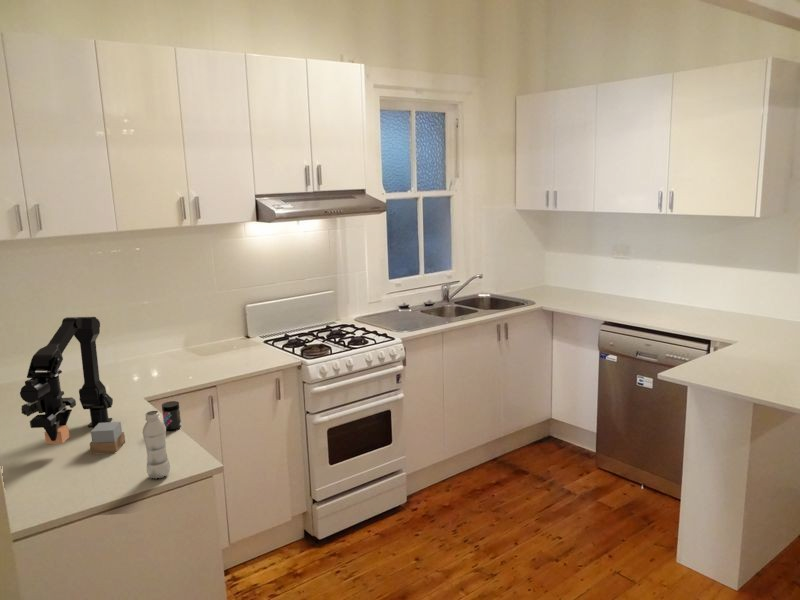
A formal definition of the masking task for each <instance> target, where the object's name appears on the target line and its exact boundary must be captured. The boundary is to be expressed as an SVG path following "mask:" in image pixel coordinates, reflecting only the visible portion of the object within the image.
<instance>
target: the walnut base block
mask: <svg viewBox="0 0 800 600" xmlns="http://www.w3.org/2000/svg"><path fill="white" fill-rule="evenodd" d="M125 435H126V434H125V431H122V434H121V435H120V436H119V437H118V438H117V440H116V441H115V442H103V443H92V441H91V442H90V443H89V448H90V455H94V454H93V453H105V454H115V453H114V452H117V451H118V452H119V451H120V450H121V448H122V447H123V446H124V445H125V443H126V438H125V437H126V436H125ZM123 444H124V445H123ZM118 452H117V453H118Z"/></svg>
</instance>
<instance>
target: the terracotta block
mask: <svg viewBox="0 0 800 600" xmlns="http://www.w3.org/2000/svg"><path fill="white" fill-rule="evenodd" d="M44 431H45V430H44ZM44 438H45V444H46V445H56V444H57V445H58V444H64V443H65V441H67V440H68V439H69V438H70V429H69V425H68V424H66V425H62V426H59V427H58V432H57V437H56V440H55V441H51V439H50V437H49V436H48V434H47V432H46V431H45V432H44Z"/></svg>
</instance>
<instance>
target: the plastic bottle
mask: <svg viewBox="0 0 800 600" xmlns="http://www.w3.org/2000/svg"><path fill="white" fill-rule="evenodd" d="M160 418H161V417H160V411H159V410H149V411H147V412H146V413H145V421H146V422H145V424H144V426H143V428H142V436H143V441H144V443H145V448H146V461H147V463H146V473H147V476H148V477H149V478H150V479H152V478H153V480H157V478H159V479H162V478H164V476H165V477H166V476H168V475H169V473H170V471H171V465H170V461H169V457H168V453H167V447H166V446H167V445H166V444H167V441H166V437H167V436H166V435H167V431H166V427H165V425H164V422H163V421H161V420H160ZM167 474H168V475H167ZM154 478H155V479H154Z"/></svg>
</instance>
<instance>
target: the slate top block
mask: <svg viewBox="0 0 800 600" xmlns="http://www.w3.org/2000/svg"><path fill="white" fill-rule="evenodd" d="M122 428H123V427H122V422H121V421H110V422H106V423H98V424H97V425H96V426H95V427H94V428H93V429H92V430H91V431H90V435H91V436H90V437H91V442H92V443H103V442H115V441H116V440H117V438H118V437H119V436H120V435H121V434H122V432H123V431H122V430H123V429H122Z"/></svg>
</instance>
